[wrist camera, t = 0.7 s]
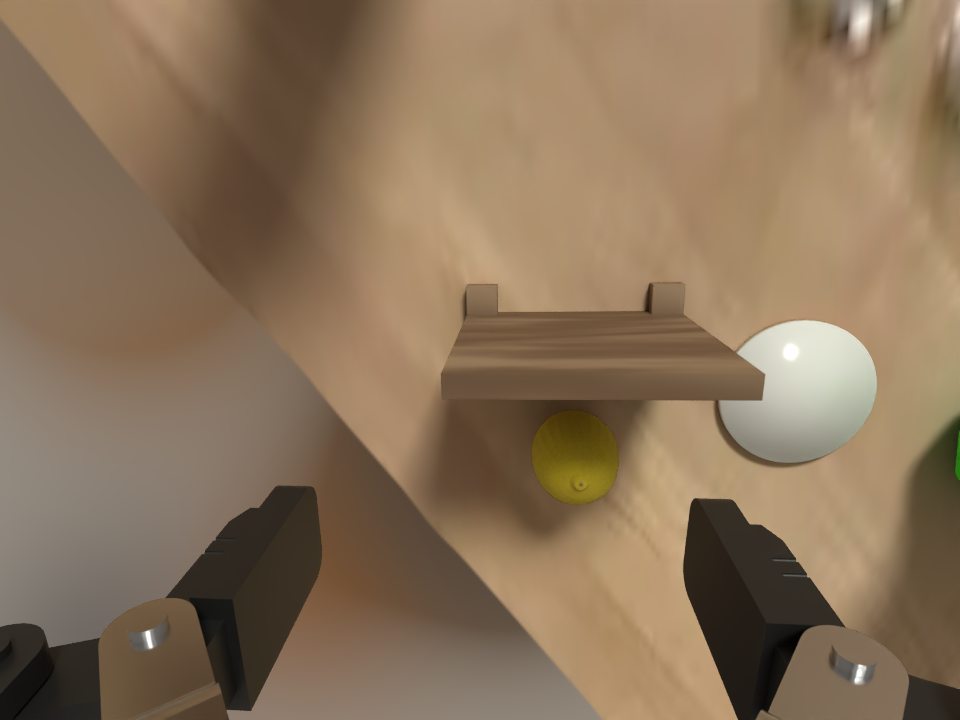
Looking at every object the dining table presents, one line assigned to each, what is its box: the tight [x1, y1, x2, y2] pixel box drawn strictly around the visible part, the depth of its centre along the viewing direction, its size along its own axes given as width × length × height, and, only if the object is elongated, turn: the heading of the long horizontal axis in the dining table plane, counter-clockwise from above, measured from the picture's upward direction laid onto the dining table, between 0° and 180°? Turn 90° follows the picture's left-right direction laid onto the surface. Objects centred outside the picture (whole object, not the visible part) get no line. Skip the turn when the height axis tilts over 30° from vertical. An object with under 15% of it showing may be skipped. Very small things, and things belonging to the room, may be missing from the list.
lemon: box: [532, 410, 619, 505], centre depth 37 cm, size 6×6×8 cm
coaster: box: [718, 319, 877, 463], centre depth 39 cm, size 10×10×1 cm
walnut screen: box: [441, 282, 765, 401], centre depth 32 cm, size 5×14×14 cm, turn 91°
